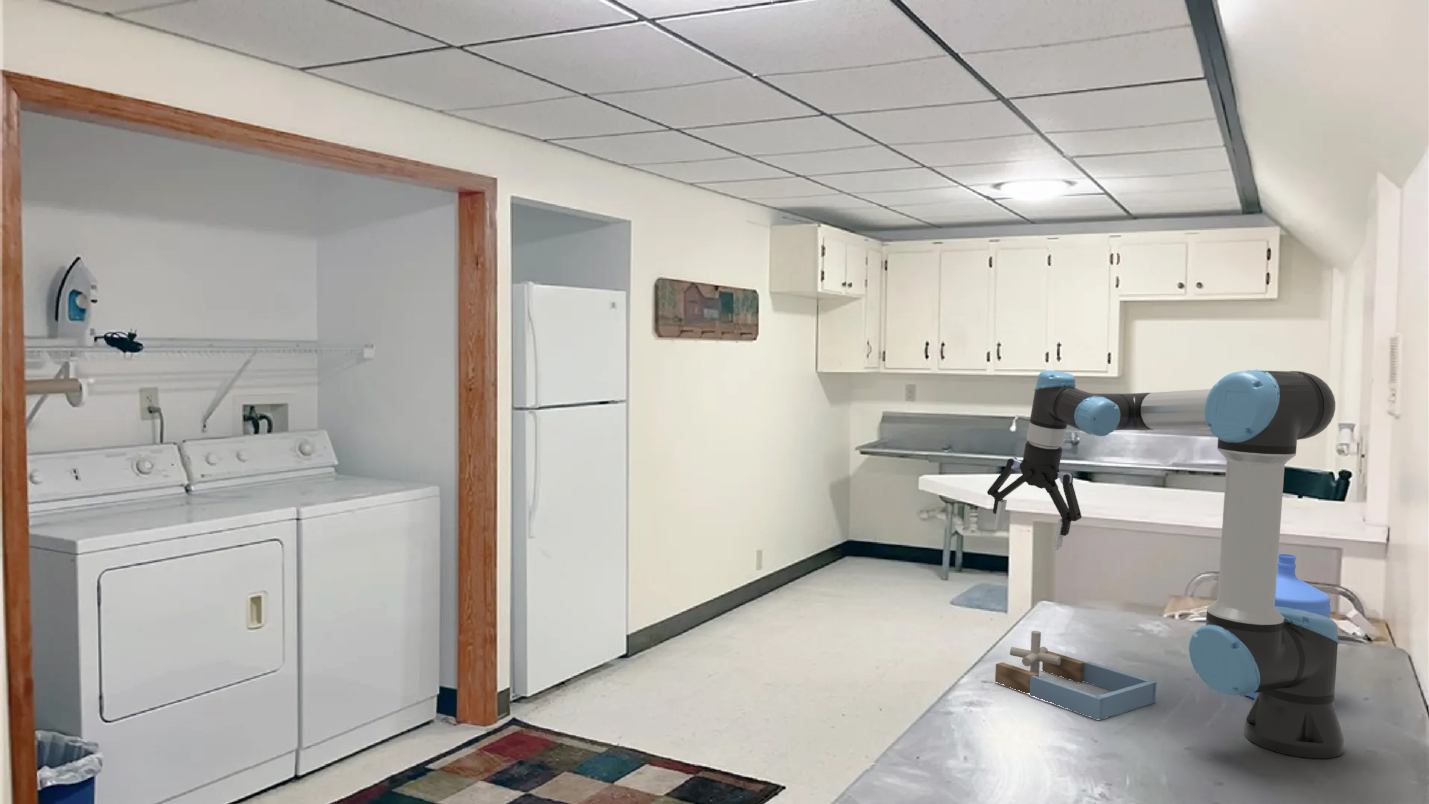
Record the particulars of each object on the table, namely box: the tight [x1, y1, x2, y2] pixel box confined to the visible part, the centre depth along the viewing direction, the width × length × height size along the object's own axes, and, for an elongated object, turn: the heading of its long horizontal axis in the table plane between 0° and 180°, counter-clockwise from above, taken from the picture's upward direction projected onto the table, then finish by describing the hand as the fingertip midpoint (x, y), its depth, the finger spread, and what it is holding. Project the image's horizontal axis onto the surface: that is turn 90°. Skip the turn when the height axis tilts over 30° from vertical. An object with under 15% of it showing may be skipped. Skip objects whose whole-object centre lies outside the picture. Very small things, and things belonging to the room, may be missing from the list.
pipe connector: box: [1009, 630, 1061, 675], centre depth 212 cm, size 10×10×10 cm
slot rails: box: [994, 650, 1086, 694], centre depth 211 cm, size 9×17×4 cm, turn 125°
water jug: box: [1246, 553, 1331, 700], centre depth 206 cm, size 16×16×28 cm
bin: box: [1029, 661, 1158, 720], centre depth 201 cm, size 15×18×4 cm
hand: (1026, 538), depth 224 cm, fingers open, 13 cm apart
